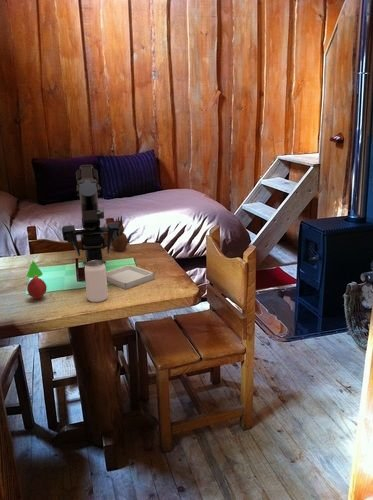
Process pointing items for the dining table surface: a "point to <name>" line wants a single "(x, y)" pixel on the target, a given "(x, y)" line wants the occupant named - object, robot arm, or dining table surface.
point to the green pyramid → (34, 271)
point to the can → (96, 281)
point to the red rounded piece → (36, 287)
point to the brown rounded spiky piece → (120, 238)
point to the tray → (129, 276)
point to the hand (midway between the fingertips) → (93, 254)
